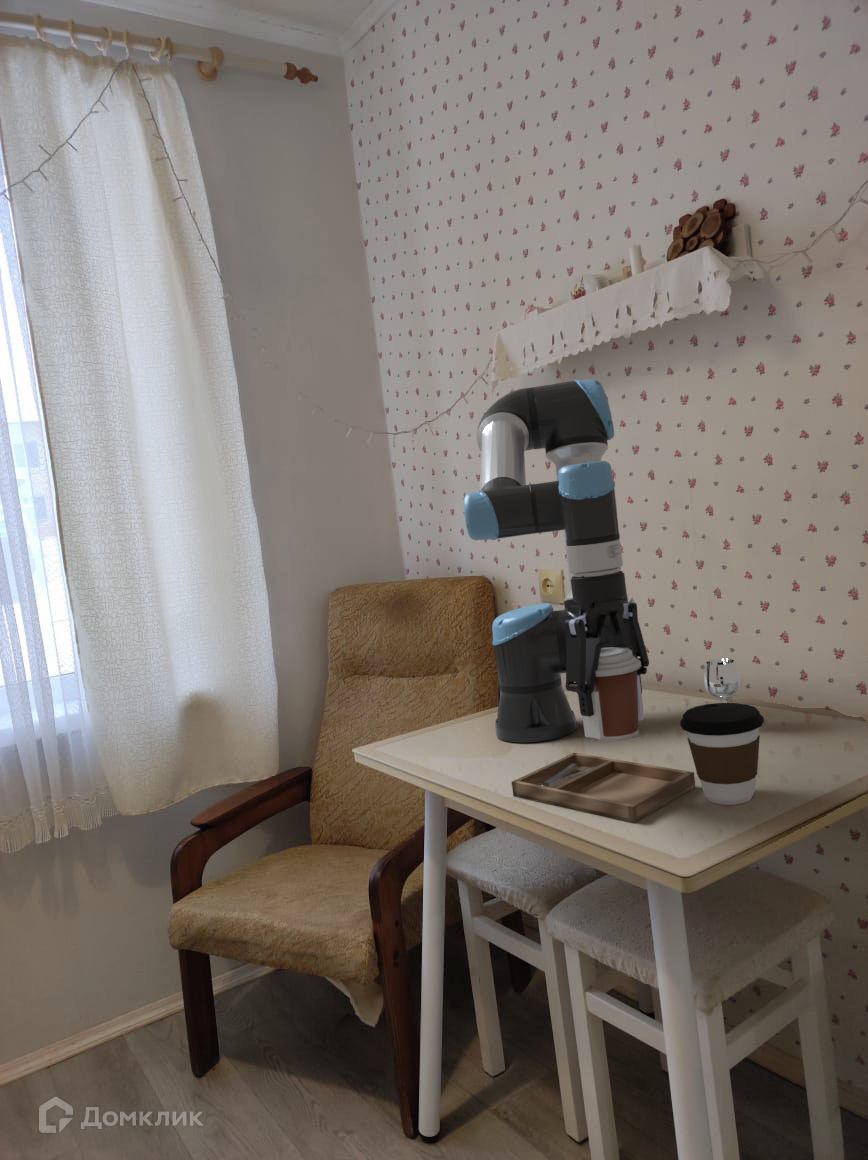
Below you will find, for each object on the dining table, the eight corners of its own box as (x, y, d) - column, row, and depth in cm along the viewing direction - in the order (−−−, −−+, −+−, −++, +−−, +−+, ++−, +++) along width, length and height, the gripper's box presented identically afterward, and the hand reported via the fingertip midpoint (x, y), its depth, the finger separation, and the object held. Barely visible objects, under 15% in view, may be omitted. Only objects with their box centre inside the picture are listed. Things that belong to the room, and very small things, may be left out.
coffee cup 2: (677, 790, 128) (668, 708, 127) (751, 778, 129) (742, 697, 128) (705, 817, 117) (696, 728, 116) (786, 804, 118) (777, 715, 117)
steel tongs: (553, 796, 131) (553, 789, 131) (528, 790, 135) (527, 783, 135) (598, 773, 138) (597, 766, 138) (573, 769, 142) (572, 762, 142)
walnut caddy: (513, 795, 135) (511, 781, 135) (575, 765, 145) (574, 752, 145) (634, 823, 119) (632, 807, 118) (695, 787, 128) (693, 772, 128)
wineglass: (740, 724, 155) (733, 656, 154) (748, 733, 149) (741, 663, 148) (706, 727, 155) (699, 660, 154) (713, 737, 150) (706, 667, 149)
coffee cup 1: (599, 724, 134) (589, 645, 133) (657, 726, 129) (648, 644, 128) (574, 742, 127) (563, 659, 125) (635, 745, 122) (625, 659, 120)
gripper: (568, 584, 116) (589, 752, 118) (663, 559, 130) (680, 710, 132) (525, 585, 121) (545, 746, 123) (621, 561, 136) (637, 706, 138)
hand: (615, 727), depth 128 cm, fingers closed on coffee cup 1, 9 cm apart
